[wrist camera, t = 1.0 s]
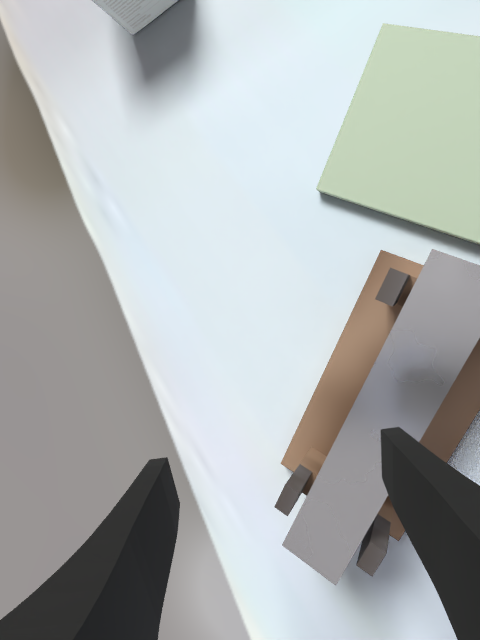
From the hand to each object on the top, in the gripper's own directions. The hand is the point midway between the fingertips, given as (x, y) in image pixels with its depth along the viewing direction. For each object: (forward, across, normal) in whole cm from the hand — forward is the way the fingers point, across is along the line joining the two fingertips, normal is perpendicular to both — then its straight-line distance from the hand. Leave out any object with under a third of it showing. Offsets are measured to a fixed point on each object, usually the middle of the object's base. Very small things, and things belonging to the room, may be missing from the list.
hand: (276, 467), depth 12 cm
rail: (+6, -6, +3) cm, 9 cm away
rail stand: (+9, -7, +4) cm, 13 cm away
